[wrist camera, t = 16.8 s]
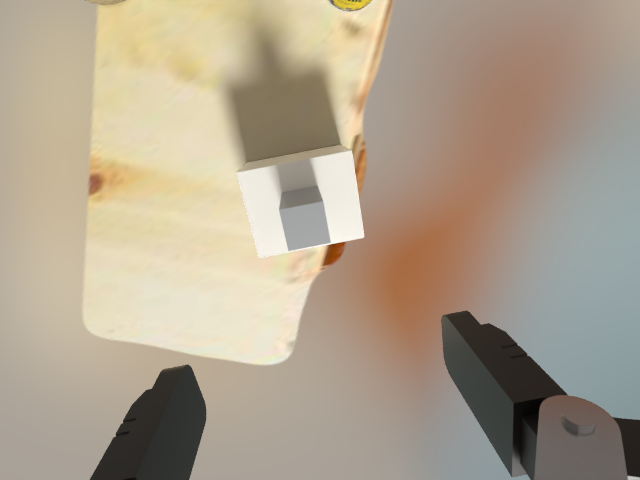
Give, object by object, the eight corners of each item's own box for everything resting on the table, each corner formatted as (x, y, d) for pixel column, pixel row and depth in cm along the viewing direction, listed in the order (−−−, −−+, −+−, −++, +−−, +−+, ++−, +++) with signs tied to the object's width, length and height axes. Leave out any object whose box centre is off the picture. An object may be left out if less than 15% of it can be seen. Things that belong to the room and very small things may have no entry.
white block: (247, 162, 36) (222, 185, 23) (340, 144, 36) (365, 158, 24) (264, 233, 39) (251, 288, 26) (352, 216, 39) (379, 263, 26)
